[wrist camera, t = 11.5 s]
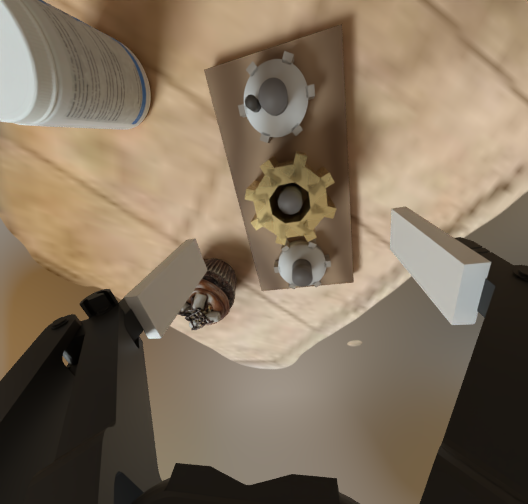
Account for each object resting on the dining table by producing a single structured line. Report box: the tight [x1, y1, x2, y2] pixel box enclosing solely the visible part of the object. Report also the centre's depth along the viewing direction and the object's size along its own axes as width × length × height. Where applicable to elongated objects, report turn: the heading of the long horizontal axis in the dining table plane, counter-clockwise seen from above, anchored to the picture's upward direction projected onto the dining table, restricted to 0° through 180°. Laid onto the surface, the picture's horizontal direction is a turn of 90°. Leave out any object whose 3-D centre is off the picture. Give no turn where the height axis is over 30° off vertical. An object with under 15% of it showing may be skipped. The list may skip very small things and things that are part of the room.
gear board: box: [204, 24, 353, 291], centre depth 29 cm, size 15×31×7 cm, turn 12°
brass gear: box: [245, 151, 337, 245], centre depth 27 cm, size 10×10×6 cm
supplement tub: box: [0, 0, 151, 129], centre depth 22 cm, size 10×10×15 cm
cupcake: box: [178, 259, 236, 330], centre depth 36 cm, size 10×10×10 cm
